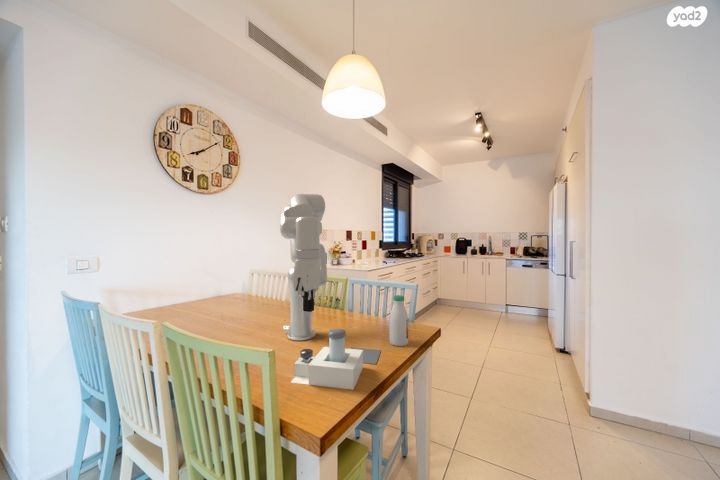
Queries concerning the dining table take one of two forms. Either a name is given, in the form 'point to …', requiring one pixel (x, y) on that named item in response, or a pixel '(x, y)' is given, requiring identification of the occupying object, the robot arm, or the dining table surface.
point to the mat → (369, 355)
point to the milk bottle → (398, 322)
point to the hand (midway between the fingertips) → (308, 310)
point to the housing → (330, 370)
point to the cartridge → (337, 345)
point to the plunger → (306, 354)
